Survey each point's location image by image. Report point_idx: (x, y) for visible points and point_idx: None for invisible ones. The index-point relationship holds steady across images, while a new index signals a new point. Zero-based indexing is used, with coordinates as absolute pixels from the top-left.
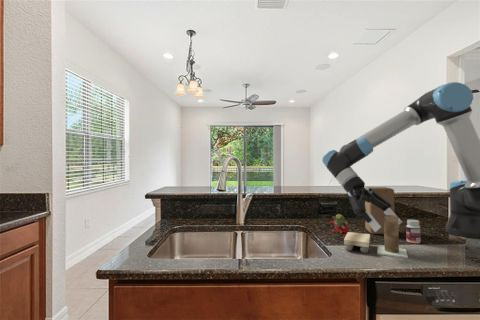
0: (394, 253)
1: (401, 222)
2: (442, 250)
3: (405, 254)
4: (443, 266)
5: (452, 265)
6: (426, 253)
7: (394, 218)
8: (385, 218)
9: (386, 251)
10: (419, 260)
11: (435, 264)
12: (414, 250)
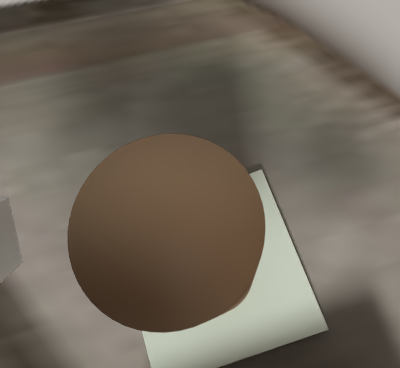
0: None
1: (3, 199)
2: (6, 99)
3: None
4: (258, 41)
5: (216, 24)
6: (105, 134)
7: (234, 160)
8: (250, 282)
9: (252, 291)
10: (251, 126)
11: (256, 67)
12: None
